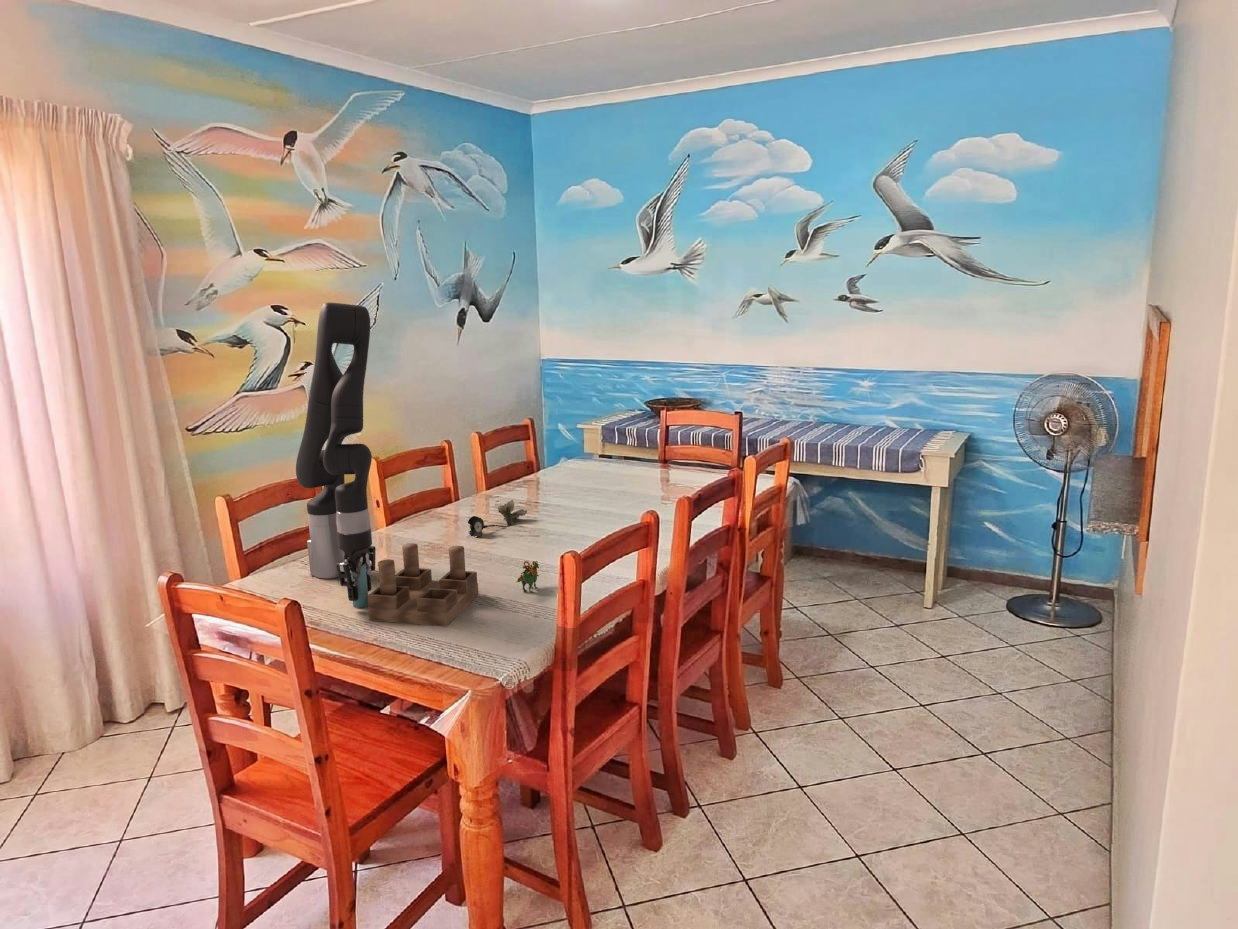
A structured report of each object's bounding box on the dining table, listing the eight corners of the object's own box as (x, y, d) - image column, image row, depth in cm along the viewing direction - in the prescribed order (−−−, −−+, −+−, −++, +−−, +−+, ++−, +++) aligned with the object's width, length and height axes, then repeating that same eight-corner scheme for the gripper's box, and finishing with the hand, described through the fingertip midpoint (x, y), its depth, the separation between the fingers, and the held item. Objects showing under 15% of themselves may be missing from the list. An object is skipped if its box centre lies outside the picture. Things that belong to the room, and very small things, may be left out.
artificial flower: (463, 539, 248) (458, 507, 249) (516, 530, 266) (511, 500, 267) (482, 536, 243) (477, 503, 243) (535, 527, 261) (530, 496, 261)
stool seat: (369, 620, 186) (364, 566, 183) (407, 590, 204) (403, 540, 201) (446, 626, 182) (443, 571, 179) (478, 594, 200) (475, 544, 198)
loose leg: (350, 607, 194) (346, 567, 192) (358, 601, 197) (354, 562, 195) (364, 608, 193) (360, 568, 191) (371, 602, 197) (368, 563, 194)
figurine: (544, 584, 207) (543, 553, 205) (523, 601, 196) (521, 569, 194) (533, 582, 208) (532, 552, 206) (511, 599, 197) (510, 567, 195)
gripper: (355, 518, 199) (361, 583, 202) (322, 536, 185) (329, 606, 189) (383, 519, 197) (389, 585, 201) (352, 537, 183) (359, 608, 187)
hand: (360, 595), depth 195 cm, fingers open, 5 cm apart
